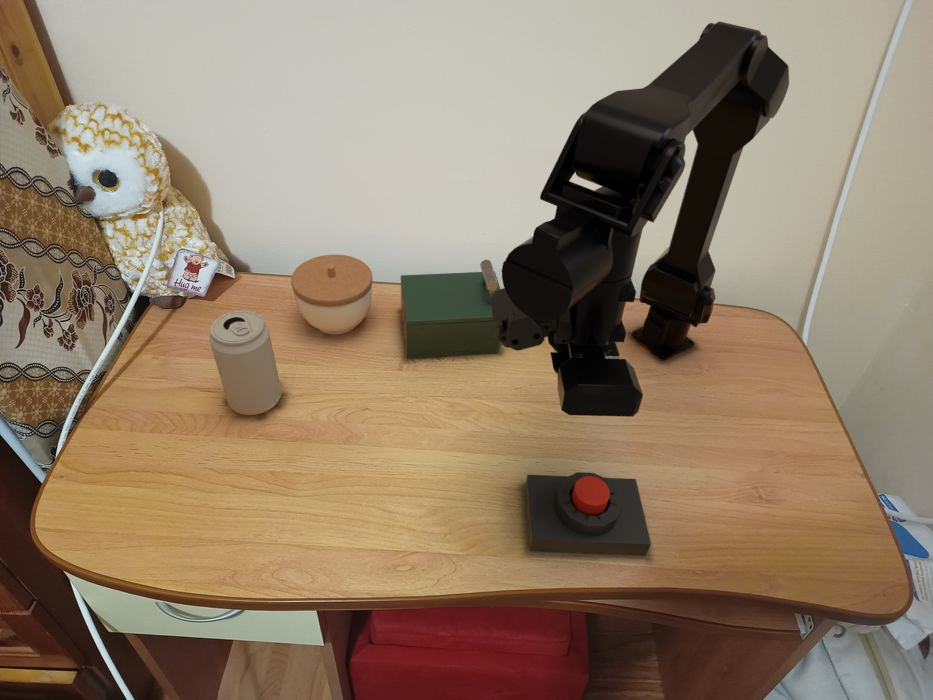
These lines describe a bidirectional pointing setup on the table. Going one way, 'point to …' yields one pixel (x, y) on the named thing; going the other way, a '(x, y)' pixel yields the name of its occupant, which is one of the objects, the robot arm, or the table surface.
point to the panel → (584, 518)
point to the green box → (449, 338)
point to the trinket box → (333, 292)
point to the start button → (590, 495)
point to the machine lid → (449, 296)
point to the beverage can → (245, 362)
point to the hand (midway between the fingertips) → (571, 404)
